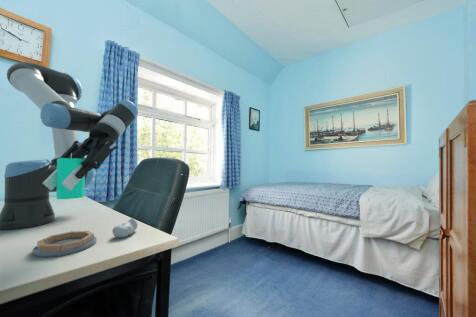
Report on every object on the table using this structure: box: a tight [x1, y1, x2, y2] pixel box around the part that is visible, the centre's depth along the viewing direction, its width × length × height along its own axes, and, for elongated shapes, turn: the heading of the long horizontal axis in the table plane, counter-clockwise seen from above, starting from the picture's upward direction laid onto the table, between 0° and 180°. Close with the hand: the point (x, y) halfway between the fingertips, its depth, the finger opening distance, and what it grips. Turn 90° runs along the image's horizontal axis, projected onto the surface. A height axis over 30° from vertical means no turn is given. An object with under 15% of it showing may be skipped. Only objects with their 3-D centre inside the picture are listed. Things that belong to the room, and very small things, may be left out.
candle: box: [55, 153, 86, 200], centre depth 57 cm, size 6×6×12 cm
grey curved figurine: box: [112, 218, 138, 239], centre depth 65 cm, size 4×8×5 cm
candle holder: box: [32, 230, 97, 258], centre depth 56 cm, size 13×13×2 cm
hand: (56, 186), depth 53 cm, fingers closed on candle, 5 cm apart
